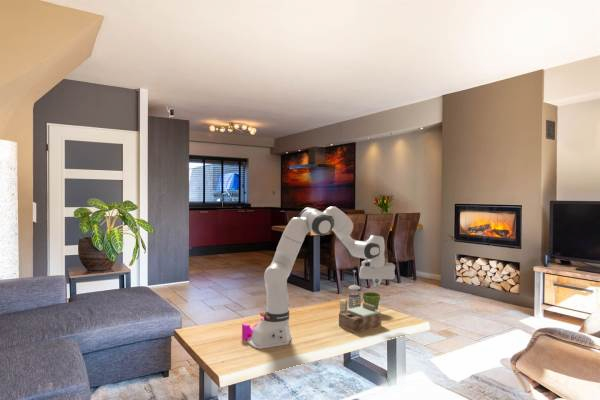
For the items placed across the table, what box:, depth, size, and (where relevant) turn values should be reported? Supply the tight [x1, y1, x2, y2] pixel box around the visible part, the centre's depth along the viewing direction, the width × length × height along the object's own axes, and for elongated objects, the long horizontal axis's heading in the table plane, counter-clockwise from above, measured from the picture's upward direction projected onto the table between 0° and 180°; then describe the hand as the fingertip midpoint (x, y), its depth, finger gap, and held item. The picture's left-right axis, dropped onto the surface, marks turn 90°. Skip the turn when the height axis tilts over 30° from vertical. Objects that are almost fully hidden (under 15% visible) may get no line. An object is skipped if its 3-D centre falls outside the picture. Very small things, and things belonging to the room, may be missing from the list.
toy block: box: [241, 317, 264, 341], centre depth 195 cm, size 15×6×8 cm, turn 134°
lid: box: [347, 302, 382, 317], centre depth 210 cm, size 13×13×4 cm
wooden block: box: [339, 298, 348, 313], centre depth 217 cm, size 3×3×12 cm
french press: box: [347, 269, 364, 309], centre depth 239 cm, size 10×12×25 cm
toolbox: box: [338, 311, 382, 334], centre depth 209 cm, size 20×13×7 cm, turn 125°
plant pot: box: [361, 291, 382, 311], centre depth 233 cm, size 12×12×11 cm
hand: (376, 286), depth 216 cm, fingers closed
